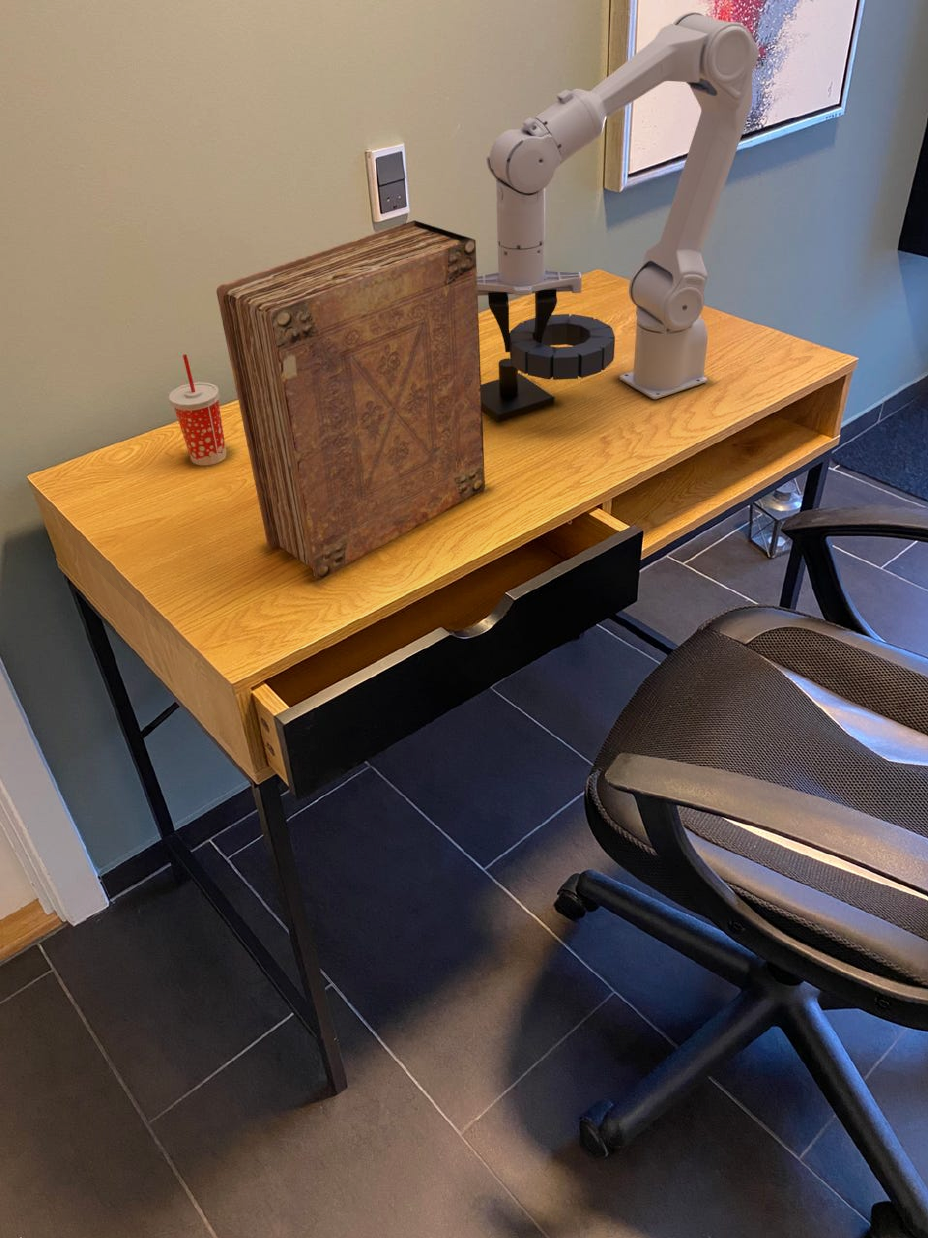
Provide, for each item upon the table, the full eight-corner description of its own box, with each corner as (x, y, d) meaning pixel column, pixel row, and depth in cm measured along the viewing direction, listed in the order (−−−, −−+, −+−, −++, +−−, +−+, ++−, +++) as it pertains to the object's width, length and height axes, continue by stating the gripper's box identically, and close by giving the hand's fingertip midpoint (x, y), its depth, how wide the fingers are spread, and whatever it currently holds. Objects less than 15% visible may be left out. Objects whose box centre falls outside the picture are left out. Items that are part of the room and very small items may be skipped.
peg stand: (519, 380, 142) (518, 342, 138) (554, 404, 136) (554, 365, 132) (464, 397, 139) (462, 359, 135) (498, 422, 133) (497, 383, 129)
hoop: (573, 327, 136) (574, 306, 134) (633, 361, 127) (635, 338, 125) (491, 352, 131) (490, 330, 129) (547, 389, 122) (547, 366, 120)
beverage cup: (215, 439, 133) (192, 340, 124) (242, 455, 129) (220, 353, 120) (176, 457, 130) (149, 356, 121) (202, 473, 126) (176, 371, 117)
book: (315, 582, 107) (267, 313, 88) (267, 547, 113) (212, 287, 94) (486, 489, 120) (476, 236, 101) (435, 462, 125) (416, 217, 106)
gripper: (461, 255, 117) (466, 364, 125) (585, 249, 116) (581, 359, 125) (460, 235, 122) (465, 340, 131) (579, 229, 122) (576, 335, 130)
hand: (522, 348), depth 128 cm, fingers closed on hoop, 3 cm apart
